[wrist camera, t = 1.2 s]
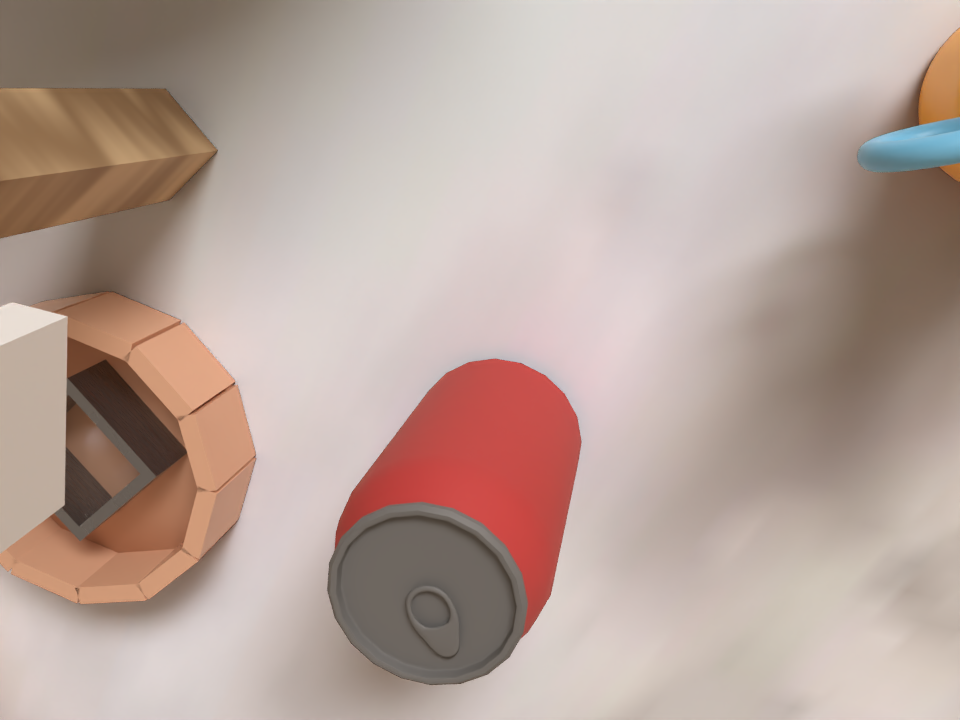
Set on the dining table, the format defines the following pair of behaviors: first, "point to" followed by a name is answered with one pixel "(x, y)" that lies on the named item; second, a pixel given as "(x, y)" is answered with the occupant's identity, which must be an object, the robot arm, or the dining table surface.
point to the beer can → (458, 525)
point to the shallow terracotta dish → (165, 502)
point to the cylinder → (926, 123)
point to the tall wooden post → (91, 153)
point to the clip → (129, 433)
